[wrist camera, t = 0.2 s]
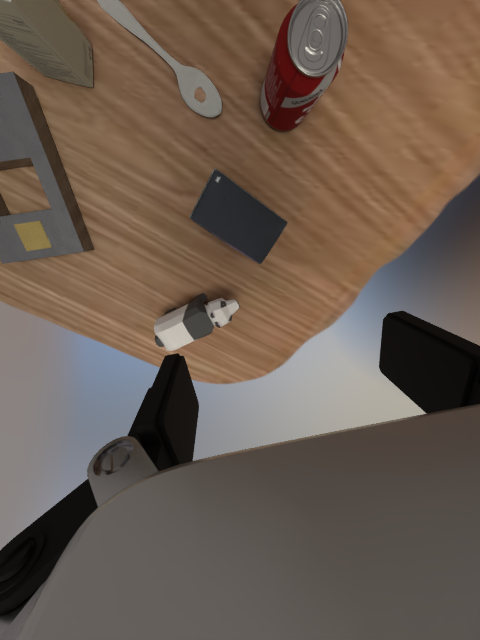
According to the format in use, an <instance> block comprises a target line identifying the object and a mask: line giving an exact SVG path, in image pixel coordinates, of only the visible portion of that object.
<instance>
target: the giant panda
mask: <svg viewBox="0 0 480 640" xmlns="http://www.w3.org/2000/svg"><path fill="white" fill-rule="evenodd" d="M206 301H207V296H206V295H205V294H201V295H199V296H197V297H195V298H194V299H193V301H191V302H190V303H189V304H187V305H185V306H183V307H181V308H179V309H176V308H175V309H172V310H169V311H168V312H166V313H165V314H164V315H163V316H161V317H160V318H158V319H157V320H156V322H155V325H154V331H155V334H156V336H155V342H156V344H157V345H158V346H159V347H163V346H165V348H166V350H167V351H173V350H176V349H178V348H180V347H182V346H184V345H186V344H189V343H191V342H193V341H195V340H198V339H200V338H202V337H205V336H207V335H209V334H210V333H212V331H213V328H214V325H216V326H217V327H219V328H220V326H224V325H225V324H227V323H229V322H230V321H231V319H232V315H233V314H234V313H235V312H236V311H237V310H238V309H239V308H240V306H239V303H238V302H237V301H236V300H227V301H226V300H224V299H223V298H219V299H216V300H213V301H211V302H208V305H207V306H206V305H205V304H204V303H205V302H206Z"/></svg>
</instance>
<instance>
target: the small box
mask: <svg viewBox="0 0 480 640" xmlns="http://www.w3.org/2000/svg"><path fill="white" fill-rule="evenodd" d="M190 219H191V220H193V221H194V222H196V223H197V224H198V225H200V226H201V227H203V228H204V229H205V230H207V231H208V232H210V233H211V234H213V235H214V236H216V237H217V238H219V239H220V240H221V241H223V242H224V243H226V244H227V245H229V246H231V247H232V248H234V249H235V250H237V251H239V252H240V253H242V254H243V255H245V256H247V257H248V258H250V259H252V260H253V261H255V262H257V263H259V264H261V263H262V262H263V260H264V259H265V257H266V256H267V254H268V253H269V251H270V250H271V248H272V247H273V245H274V244H275V242H276V241H277V239H278V238H279V236H280V234H281V233H282V231H283V230H284V228H285V227H286V225H287V222H286V221H285V220H284V219H282V218H281V217H280V216H278V215H277V214H276V213H275V212H273V211H272V210H270V209H269V208H268V207H267V206H265V205H264V204H263V203H261V202H260V201H259V200H257V199H256V198H255V197H253V196H252V195H251V194H249V193H248V192H247V191H245V190H244V189H243V188H241V187H240V186H239V185H237V184H236V183H235V182H233V181H232V180H231V179H229V178H228V177H227V176H225V175H224V174H223V173H221V172H220V171H219V170H217V169H214V170H213V172H212V174H211V176H210V178H209V180H208V182H207V184H206V186H205V188H204V190H203V192H202V194H201V196H200V198H199V200H198V202H197V204H196V206H195V207H194V210H193V212H192V213H191V216H190Z"/></svg>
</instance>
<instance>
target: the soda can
mask: <svg viewBox="0 0 480 640" xmlns="http://www.w3.org/2000/svg"><path fill="white" fill-rule="evenodd" d="M347 37H348V21H347V16H346V12H345V9H344V7H343V5H342V3H341V2H340V0H300V2H299V3H298V4H297V5H295V6H294V7H293V8H292V9H291V10H290V11H289V13H288V14H287V16H286V17H285V19H284V21H283V23H282V25H281V27H280V30H279V33H278V37H277V40H276V43H275V47H274V50H273V53H272V57H271V60H270V63H269V67H268V70H267V73H266V77H265V80H264V83H263V87H262V90H261V97H260V104H261V110H262V114H263V116H264V118H265V120H266V121H267V123H268V124H269V125H270V126H271V127H272V128H274V129H276V130H278V131H289V130H292V129H294V128H295V127H297V126H298V125H299V124H300V123H301V122H302V120H303V119H304V118H305V117H306V115H307V114H308V113H309V111H310V110H311V109H312V107H313V106H314V105H315V104H316V102H317V101H318V100H319V98H320V97H321V96H322V94H323V93H324V92H325V90H326V89H327V88H328V87H329V85H330V84H331V83H332V81H333V80H334V78H335V77H336V75H337V73H338V71H339V69H340V66H341V64H342V60H343V56H344V50H345V46H346V43H347Z"/></svg>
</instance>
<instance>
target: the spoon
mask: <svg viewBox="0 0 480 640" xmlns="http://www.w3.org/2000/svg"><path fill="white" fill-rule="evenodd" d="M97 1H98V3H99V4H100V6H101V7H102V9H103V10H105V11H106V12H107V13H108V14H109V15H110V16H111V17H113V18H114V19H115V20H116V21H117V22H119V23H120V24H121V25H122V26H124V27H125V28H126V29H128V30H129V31H130V32H132V33H133V34H134V35H136V36H137V37H138V38H140V39H141V40H143V41H144V42H145V43H147V44H148V45H149V46H150V47H151V48H152V49H153V50H155V51H156V52H157V53H158V54H159V55H160V56H161V57H162V58H163V59H164V60H165V61H166V62H167V63H168V64H169V65H170V66H171V67H172V68H173V69H174V71H175V73H176V75H177V80H178V85H179V90H180V93H181V95H182V98H183V100H184V101H185V103H186V104H187V105H188V107H189V108H191V109H192V110H193V111H194V112H196V113H198V114H200V115H202V116H205V117H215V116H217V115H219V114H220V113H221V111H222V100H221V97H220V95H219V93H218V91H217V89H216V87H215V86H214V84H213V83H212V81H211V80H210V79H209V78H208V77H207V76H206V75H205V74H204V73H203V72H201V71H200V70H198V69H196V68H193V67H188V66H184V65H181V64H180V63H178V62H177V61H176V60H175V59H173V58H172V57H171V56H170V55H169V54H168V53H167V52H166V51H164V50H163V49H162V48H161V47H160V46H159V45H158V44H157V43H156V42H155V41H154V39H153V38H152V37H151V36H150V35H149V34H148V33H147V32H146V31H145V29H144V28H143V27H142V26H141V25H140V24H139V22H138V21H137V20H136V19H135V18H134V17H133V15H132V14H131V13H130V12H129V11H128V10H127V8H126V7H125V6H124V5H123V4H122V3H121V2H120V1H119V0H97ZM198 87H201V88H202V89H203V90H204V92H205V93H206V99H205V101H204V102H202V103H200V102H199V101H198V100H196V99H195V98H194V93H195V90H196V89H197V88H198Z"/></svg>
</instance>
